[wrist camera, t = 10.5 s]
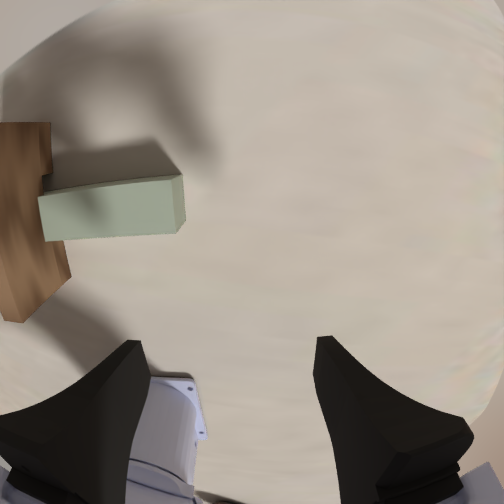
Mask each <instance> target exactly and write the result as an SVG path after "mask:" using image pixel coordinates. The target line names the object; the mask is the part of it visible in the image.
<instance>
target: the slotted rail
mask: <svg viewBox="0 0 504 504" xmlns="http://www.w3.org/2000/svg"><path fill="white" fill-rule="evenodd" d="M38 203H39V210H40V216H41V221H42V227H43V232H44V237H45V242H47V241H60V240H74V239H89V238H105V237H121V236H138V235H156V234H176V233H177V232H178V230H179V229H180V228H181V226H182V225H183V224H184V222H185V221H186V215H185V203H184V190H183V175H182V174H180V175H168V176H157V177H147V178H138V179H129V180H121V181H113V182H105V183H98V184H91V185H84V186H78V187H71V188H65V189H59V190H54V191H48V192H44V195H42V196H40V197H38Z"/></svg>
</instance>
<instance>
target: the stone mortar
mask: <svg viewBox="0 0 504 504" xmlns="http://www.w3.org/2000/svg"><path fill="white" fill-rule="evenodd" d="M214 504H233V503H229V502H215V503H214Z"/></svg>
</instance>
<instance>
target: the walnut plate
mask: <svg viewBox="0 0 504 504" xmlns="http://www.w3.org/2000/svg"><path fill="white" fill-rule="evenodd" d="M50 173H53V166H52V153H51V133H50V123H45V122H4V123H0V311H1V313H2V316H3V319H4V321H11V322H17V323H24V322H25V321H26V320H27V319H28V318H29V317H30V316H31V315H32V314H33V313H34V312H35V311H36V310H37V309H38V308H39V307H40V306H41V305H42V304H43V303H44V302H45V301H46V300H47V299H48V298H49V297H50V296H51V295H52V294H53V293H54V292H55V291H56V290H58V289H59V288H60V287H61V286H62V285H63V284H64V283H65V282H66V281H67V280H68V279H70V278H71V273H70V269H69V265H68V260H67V256H66V252H65V247H64V242H63V240H60V241H47V242H45V237H44V232H43V227H42V221H41V216H40V210H39V203H38V197H40V196H42V195H44V192H43V184H42V175H45V174H50Z"/></svg>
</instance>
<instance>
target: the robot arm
mask: <svg viewBox="0 0 504 504" xmlns="http://www.w3.org/2000/svg"><path fill="white" fill-rule="evenodd" d="M313 377H314V383H315V388H316V393H317V397H318V400H319V403H320V406H321V409H322V413H323V416H324V419H325V422H326V425H327V428H328V431H329V434H330V438H331V442H332V446H333V451H334V457H335V462H336V469H337V475H338V482H339V490H340V499H341V504H504V489H503V487H502V485H501V483H500V482H499V480H498V478H497V476H496V474H495V472H494V470H493V468H492V467H491V465H490V463H489V462H486V463H484V464H482V465H480V466H479V467H477V468H475V469H473V470H471V471H470V472H468V473H466V474H465V475H463V476H462V477H460V478H459V476H458V473H457V472H458V471H459V470H460V467H459V465H458V463H457V461H459V459H460V458H461V457H462V456H463V455H464V454H465V452H466V451H467V450H468V449H469V447H470V446H471V444H472V442H473V439H474V435H473V433H472V431H471V429H470V428H469V426H468V424H467V423H466V421H465V420H464V418H463V417H459V416H455V415H452V414H448V413H445V412H441V411H438V410H436V409H433V408H431V407H428V406H426V405H423V404H421V403H419V402H417V401H415V400H413V399H411V398H409V397H407V396H405V395H403V394H401V393H400V392H398V391H396V390H395V389H393V388H392V387H390V386H389V385H387V384H386V383H384V382H383V381H381V380H380V379H379V378H377V377H376V376H375V375H374V374H372V373H371V372H370V371H369V370H367V369H366V368H365V367H364V366H363V365H362V364H361V363H360V362H358V361H357V360H356V359H355V358H354V357H353V356H352V355H351V354H350V353H349V352H348V351H347V350H346V349H345V348H344V347H343V346H342V345H341V344H340V343H339V342H338V341H337V340H336V339H335V338H334V337H333V336H322V337H317V344H316V353H315V361H314V369H313ZM190 387H192V388H190ZM206 439H208V434H207V430H206V426H205V422H204V418H203V414H202V410H201V405H200V401H199V396H198V392H197V387H196V383H195V381H194V380H193V379H190V378H168V377H151V374H150V371H149V368H148V364H147V361H146V358H145V354H144V351H143V347H142V344H141V341H139V340H127V341H126V342H124V343H123V344H122V345H121V346H119V347H118V348H117V349H116V350H115V351H114V352H113V353H111V354H110V355H109V356H108V357H107V358H106V359H105V360H103V361H102V362H101V363H100V364H99V365H98V366H96V367H95V368H94V369H93V370H91V371H90V372H89V373H87V374H86V375H85V376H84V377H82V378H81V379H80V380H78V381H77V382H76V383H74V384H73V385H71V386H70V387H68V388H66V389H65V390H63V391H62V392H60V393H58V394H56V395H54V396H52V397H50V398H48V399H46V400H44V401H42V402H40V403H38V404H35V405H33V406H30V407H28V408H25V409H22V410H19V411H15V412H12V413H8V414H4V415H0V455H1V457H2V458H3V459H4V460H5V461H6V462H7V463H8V464H9V465H10V466H11V467H12V469H11V471H10V472H9V471H8V470H6V469H5V468H3V467H2V466H0V504H203V502H202V500H201V499H200V498H198V497H194V496H193V495H194V486H193V485H192V484H193V480H194V472H195V463H196V454H197V446H198V440H206Z"/></svg>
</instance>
